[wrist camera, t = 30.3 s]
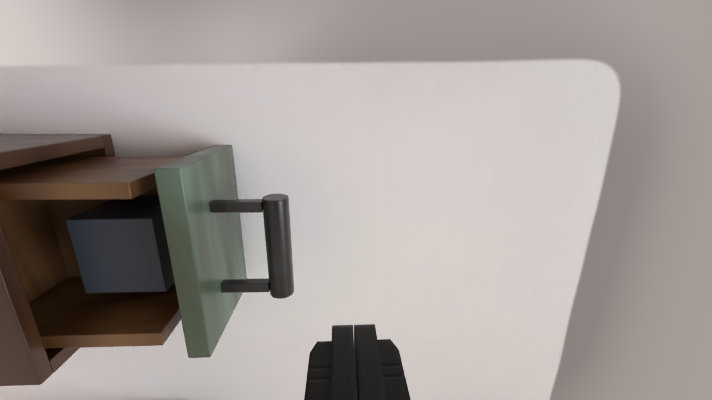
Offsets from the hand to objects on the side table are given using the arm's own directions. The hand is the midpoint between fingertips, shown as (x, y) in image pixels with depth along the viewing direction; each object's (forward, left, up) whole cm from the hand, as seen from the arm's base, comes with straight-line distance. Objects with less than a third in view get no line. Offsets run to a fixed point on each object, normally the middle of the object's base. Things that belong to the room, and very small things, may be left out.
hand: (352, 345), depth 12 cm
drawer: (+9, -7, -12) cm, 17 cm away
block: (+10, -8, -11) cm, 17 cm away
